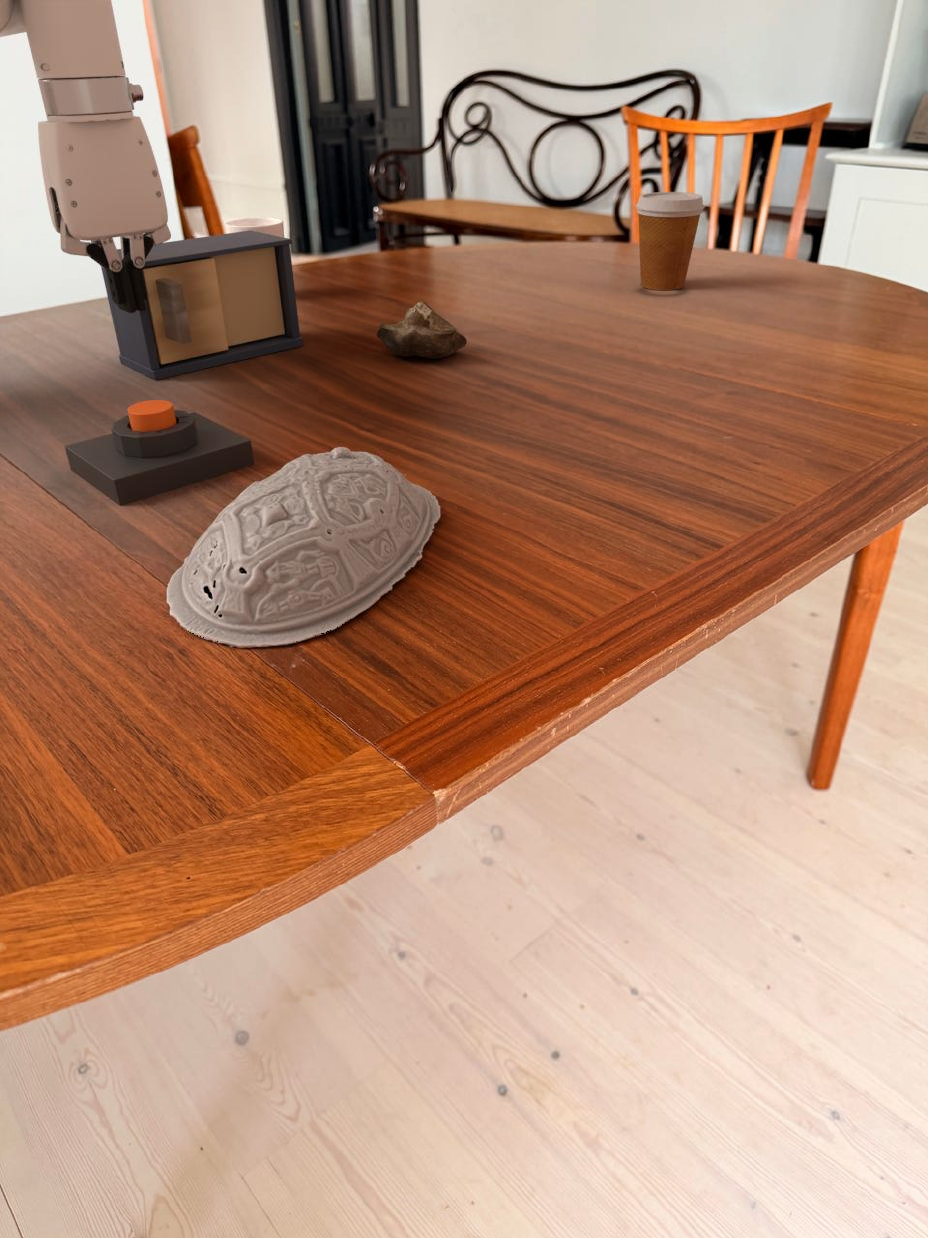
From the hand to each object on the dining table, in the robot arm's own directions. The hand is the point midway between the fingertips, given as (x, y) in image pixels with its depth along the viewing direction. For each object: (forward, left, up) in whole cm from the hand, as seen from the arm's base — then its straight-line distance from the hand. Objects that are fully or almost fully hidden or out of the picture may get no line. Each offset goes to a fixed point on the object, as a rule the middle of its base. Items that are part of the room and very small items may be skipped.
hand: (132, 309), depth 92 cm
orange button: (-9, -22, -4) cm, 24 cm away
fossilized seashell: (+28, -12, -8) cm, 32 cm away
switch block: (-9, -22, -8) cm, 25 cm away
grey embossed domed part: (-8, -44, -8) cm, 45 cm away
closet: (+11, +6, -8) cm, 15 cm away
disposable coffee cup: (+76, -9, -8) cm, 77 cm away
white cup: (+31, +28, -8) cm, 43 cm away
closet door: (+7, +1, -7) cm, 10 cm away
